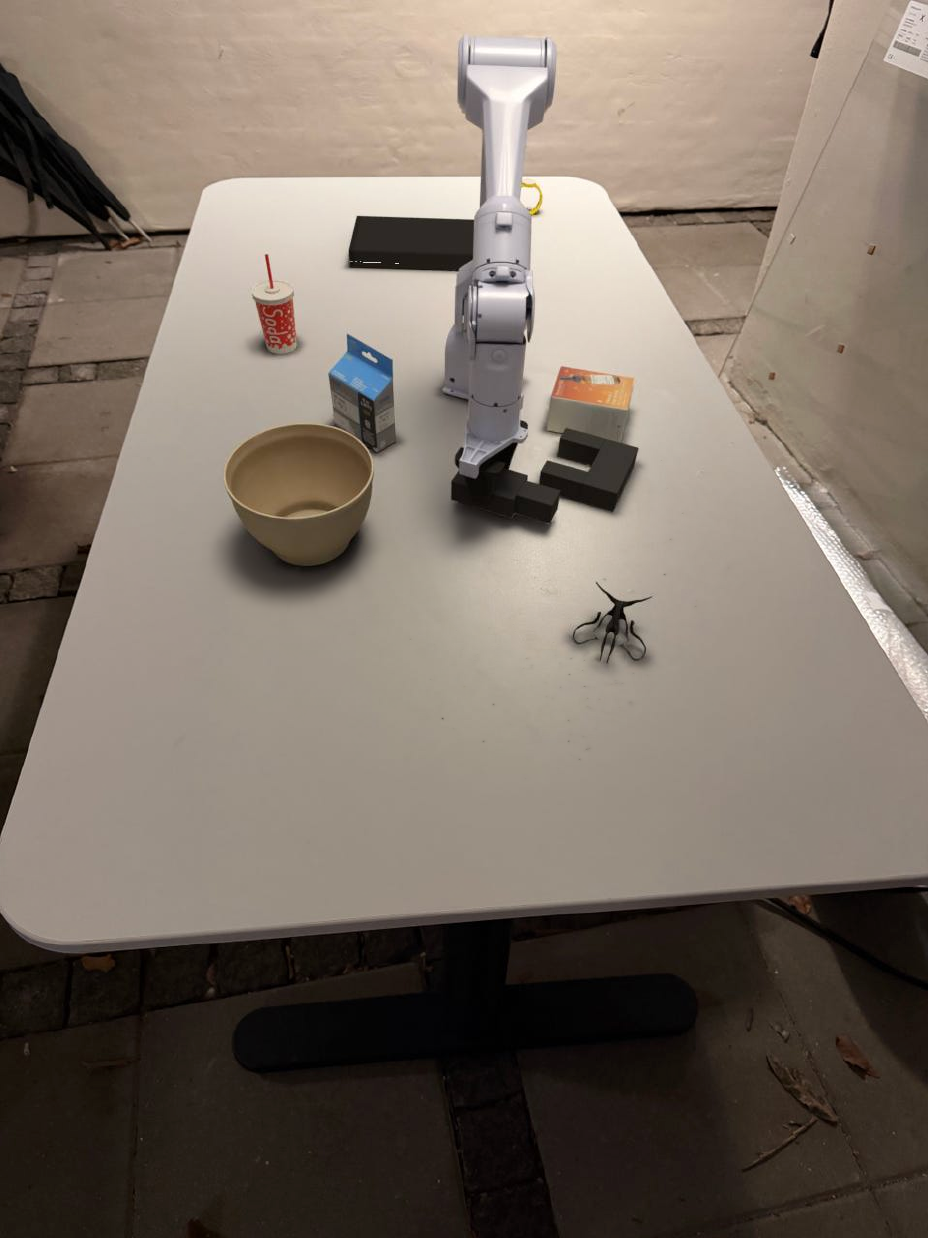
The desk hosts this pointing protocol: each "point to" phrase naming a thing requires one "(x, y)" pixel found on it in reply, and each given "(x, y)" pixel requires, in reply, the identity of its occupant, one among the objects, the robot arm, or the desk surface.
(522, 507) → the pad
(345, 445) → the planter bowl
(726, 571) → the desk surface
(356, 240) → the black electronic device box
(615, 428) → the small box
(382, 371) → the ink cartridge box
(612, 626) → the creature
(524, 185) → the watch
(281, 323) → the beverage cup
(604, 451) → the notch pad
